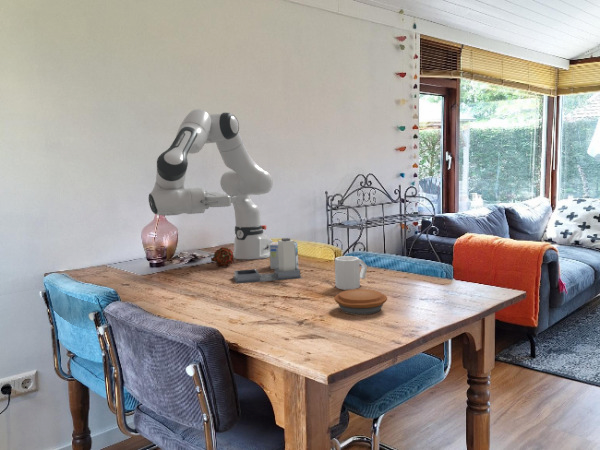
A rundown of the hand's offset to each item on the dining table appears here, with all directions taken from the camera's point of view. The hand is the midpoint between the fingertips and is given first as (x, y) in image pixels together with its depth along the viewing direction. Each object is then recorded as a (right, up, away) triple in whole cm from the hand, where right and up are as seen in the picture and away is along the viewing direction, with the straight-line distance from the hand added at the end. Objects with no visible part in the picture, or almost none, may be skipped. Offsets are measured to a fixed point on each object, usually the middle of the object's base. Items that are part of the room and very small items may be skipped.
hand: (236, 197), depth 200 cm
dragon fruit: (-10, -27, +36) cm, 46 cm away
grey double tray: (+11, -30, +7) cm, 32 cm away
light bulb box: (+16, -28, +25) cm, 41 cm away
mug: (+40, -31, -6) cm, 51 cm away
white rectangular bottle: (+18, -28, +9) cm, 35 cm away
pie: (+40, -35, -34) cm, 63 cm away
